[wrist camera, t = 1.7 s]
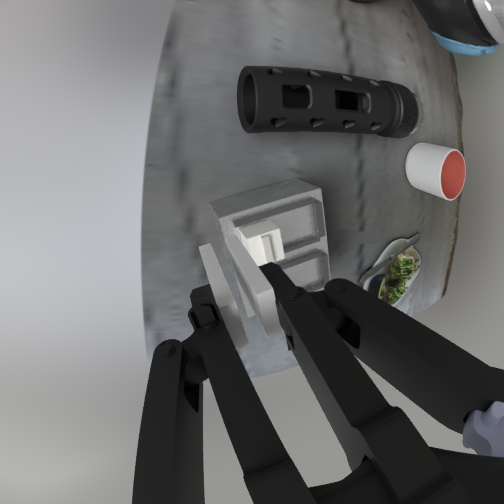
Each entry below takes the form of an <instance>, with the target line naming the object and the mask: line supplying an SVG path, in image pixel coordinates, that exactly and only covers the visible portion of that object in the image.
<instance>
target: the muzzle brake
mask: <svg viewBox="0 0 504 504" xmlns="http://www.w3.org/2000/svg"><path fill="white" fill-rule="evenodd" d="M291 86H294V87H293V88H292V87H291ZM237 104H238V114H239V119H240V122H241V125H242V127H243V129H244V130H245V131H246V132H247V133H262V132H299V131H312V132H347V133H366V134H377V135H379V136H383V137H392V138H403V137H406V136H408V135H409V134H412V133H414V132H416V131H417V130H418V129H419V127H420V125H421V123H422V120H423V108H422V105H421V102H420V100H419V99H418V97H417V96H416V95H415V94H414V93H412V92H411V91H410V90H409V89H408V88H407V87H405V86H403V85H400V84H397V83H393V82H389V81H382V80H381V81H376V80H373V79H368V78H364V77H358V76H353V75H347V74H341V73H335V72H327V71H320V70H311V69H301V68H288V67H271V66H245V67H244V68H243V69H242V71H241V73H240V76H239V80H238V86H237Z"/></svg>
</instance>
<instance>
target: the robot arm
mask: <svg viewBox="0 0 504 504" xmlns="http://www.w3.org/2000/svg"><path fill="white" fill-rule="evenodd" d="M351 1H355V2H361V3H365V2H369V1H372V0H351ZM412 2H413V3H414V5H415V6H416V8H417V9H418V11H419V12H420V14H421V15H422V17H423V18H424V20H425V22H426V23H427V27H428V29H429V30H430V31H431V32H432V33H433V35H434V36H435V38H436V40H437V41H438V43H439V44H440V45H441V46H442V47H443V48H444V49H445V50H447V51H449V52H452V53H455V54H459V55H466V56H480V55H481V54H485V55H488V54H492V53H494V52H496V51H497V50H498V48H499V44H502V43H504V0H412ZM225 242H226V245H227V249H228V252H229V256H230V259H231V263H232V266H233V270H234V273H235V276H236V278H237V280H238V282H239V284H240V286H241V288H242V290H243V292H244V294H245V296H246V298H247V300H248V301H249V303H250V305H251V307H252V309H253V311H254V313H255V315H256V317H257V319H258V321H259V323H260V325H261V327H262V329H263V331H264V333H265V334H266V336H267V338H268V339H270V338H272V337H275V336H278V335H280V334H283V332H282V328H283V330H284V332H285V335H286V340H287V345H288V350H292V352H293V354H294V356H295V357H296V359H297V361H298V363H299V365H300V367H301V369H302V371H303V373H304V375H305V377H306V378H307V381H308V383H309V385H310V386H311V388H312V390H313V392H314V394H315V396H316V398H317V400H318V402H319V404H320V406H321V407H322V410H323V411H324V413H325V415H326V417H327V419H328V421H329V423H330V425H331V427H332V428H333V431H334V432H335V434H336V436H337V438H338V440H339V442H340V444H341V446H342V448H343V449H344V451H345V453H346V456H347V460H348V463H349V466H350V468H351V470H352V473H351V474H349V475H348V476H347V477H346V478H344V479H343V480H341V481H338V482H334V483H329V484H325V485H320V486H315V487H310V488H308V487H307V485H306V483H305V482H304V480H303V478H302V476H301V475H300V473H299V471H298V469H297V468H296V466H295V464H294V463H293V461H292V459H291V458H290V456H289V455H288V453H287V451H286V449H285V448H284V446H283V444H282V442H281V440H280V438H279V436H278V434H277V432H276V430H275V428H274V427H273V425H272V422H271V421H270V419H269V417H268V415H267V413H266V411H265V409H264V407H263V405H262V403H261V401H260V399H259V396H258V394H257V392H256V391H255V388H254V386H253V384H252V382H251V380H250V378H249V376H248V374H247V371H246V369H245V367H244V365H243V363H242V361H241V359H240V356H239V354H238V352H237V350H240V349H243V348H245V347H248V346H250V345H249V342H248V339H247V336H246V333H245V330H244V327H243V324H242V321H241V318H240V315H239V312H238V309H237V306H236V303H235V300H234V298H233V296H232V293H231V291H230V289H229V286H228V284H227V282H226V279H225V277H224V275H223V272H222V270H221V268H220V265H219V263H218V260H217V258H216V256H215V253H214V251H213V248H212V246H211V244H210V243H209V244H206V245H203V246H200V247H199V250H200V253H201V257H202V260H203V263H204V266H205V269H206V273H207V276H208V279H209V282H210V284H208V285H205V286H202V287H199V288H196V289H193V290H192V292H191V295H190V298H191V303H192V308H191V309H190V310H189V312H188V317H189V319H190V322H191V324H192V326H193V328H194V330H195V331H194V332H193V334H192V335H191V336H190V337H188V338H187V339H186V340H184V341H182V342H180V341H179V340H176V339H169V340H166V341H163V342H162V343H160V344H159V345H158V346H157V347H156V348H155V351H154V354H153V358H152V363H151V368H150V373H149V379H148V384H147V390H146V395H145V401H144V407H143V413H142V420H141V426H140V433H139V440H138V449H137V456H136V465H135V474H134V485H133V498H132V504H205V498H204V472H203V471H204V470H203V381H204V380H206V379H207V378H209V380H210V383H211V386H212V389H213V392H214V395H215V398H216V401H217V404H218V407H219V410H220V412H221V415H222V418H223V421H224V424H225V426H226V429H227V432H228V435H229V437H230V440H231V442H232V445H233V448H234V450H235V453H236V455H237V458H238V460H239V463H240V465H241V468H242V470H243V474H244V476H243V478H244V481H245V484H246V487H247V489H248V491H249V494H250V496H251V498H252V501H253V503H254V504H504V370H503V369H499V368H494V367H490V366H488V365H487V364H485V363H484V362H482V361H481V360H479V359H478V358H476V357H474V356H473V355H471V354H470V353H468V352H466V351H465V350H463V349H462V348H460V347H459V346H457V345H455V344H454V343H452V342H450V341H449V340H447V339H445V338H444V337H442V336H441V335H439V334H438V333H436V332H434V331H433V330H431V329H429V328H428V327H426V326H425V325H423V324H421V323H420V322H418V321H416V320H415V319H413V318H411V317H410V316H408V315H407V314H405V313H403V312H402V311H400V310H398V309H397V308H395V307H393V306H392V305H390V304H388V303H386V302H385V301H383V300H381V299H380V298H378V297H376V296H375V295H373V294H371V293H370V292H368V291H366V290H364V289H363V288H361V287H359V286H358V285H356V284H354V283H352V282H351V281H349V280H346V279H341V278H338V279H333V280H330V281H328V282H327V283H326V284H325V286H324V290H322V291H316V292H307V291H306V290H305V289H304V288H303V287H299V286H296V285H295V284H294V283H293V282H292V280H291V279H290V278H289V277H288V276H287V274H285V272H284V271H283V270H282V268H281V267H280V266H279V265H278V264H275V263H273V262H269V263H267V264H264V265H261V266H257V264H256V263H255V261H254V260H253V258H252V257H251V256H250V254H249V253H248V251H247V250H246V248H245V247H244V245H243V244H242V242H241V241H240V240H239V238H238V237H237V235H233V236H230V237H227V238H225ZM281 327H282V328H281ZM353 354H354V355H355V356H356V357H357V358H359V359H360V360H361V361H362V362H364V363H365V364H366V365H368V366H369V367H370V368H371V369H372V370H373V371H375V372H376V373H377V374H379V375H380V376H381V377H382V378H384V379H385V380H386V381H387V382H389V383H390V384H391V385H392V386H394V387H395V388H396V389H397V390H399V391H400V392H401V393H403V394H404V395H405V396H406V397H408V398H409V399H410V400H411V401H413V402H414V403H415V404H416V405H418V406H419V407H420V408H422V409H423V410H424V411H425V412H427V413H428V414H429V415H431V416H432V417H433V418H434V419H436V420H437V421H438V422H440V423H441V424H443V425H444V426H446V427H447V428H449V429H451V430H453V431H455V432H458V433H461V434H463V445H464V447H466V448H472V449H474V450H475V451H476V453H477V455H476V454H467V453H462V452H455V451H450V450H444V449H439V448H434V447H429V446H428V445H427V444H426V442H425V441H424V439H423V438H422V436H421V435H420V433H419V432H418V431H417V429H416V428H415V426H414V425H413V424H412V422H411V421H410V419H409V418H408V417H407V415H406V414H405V413H404V412H403V410H402V409H401V408H399V407H393V406H391V405H390V404H389V403H388V402H387V401H386V399H385V398H384V396H383V395H382V394H381V392H380V391H379V390H378V388H377V387H376V385H375V384H374V382H373V381H372V380H371V378H370V377H369V375H368V374H367V373H366V371H365V370H364V368H363V367H362V366H361V364H360V363H359V361H358V360H357V359H356V357H355V356H354V355H353Z"/></svg>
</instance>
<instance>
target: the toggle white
mask: <svg viewBox="0 0 504 504" xmlns="http://www.w3.org/2000/svg"><path fill="white" fill-rule="evenodd" d="M239 231H240V235H241V239H242V242H243V245H244V247H245V248H246V250H247V251H248V253H249V254H250V256H251V257H252V258H253V260H254V261H255V263H256V264H257V266H261V265H264V264H267V263H269V262H273V263H274V262H275V261H278V260H281V259H284V258H285V256H284V250H283V245H282V239H281V234H280V229H279V228H278V227H277V226H276V225H275V224H274V223H273V222H272V221H270V220H266V221H262V222H259V223H256V224H253V225H250V226H247V227H244V228H240V229H239Z"/></svg>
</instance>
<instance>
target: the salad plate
mask: <svg viewBox="0 0 504 504" xmlns="http://www.w3.org/2000/svg"><path fill="white" fill-rule="evenodd" d="M419 239H420V235H419V234H416V235H415V236H413V237H412V238H410V239H404V238H401V239H397V240H395V241H392V242H391V243H390V244H389V245H388V246H387V247H386V248H385V249H384V250H383V252H382V253H381V254H380V256H379V257H378V259H377V260H376V261H375V262H374V264H373V265H372V266H371V267H370V269H369V270H368V271H367V272H366V273H365V274H364V275H363V276H362V277H361V279H360V283H362V288H363V289H364V290H366V291H368V292H370V293H371V294H373V295H375V296H376V297H378V298H380V299H381V300H383V301H385V302H386V303H388V304H390V305H392V306H393V307H394V306H395V305H396V304H397V303H398V302H399V301H400V300H401V298H402V297H403V295H404V294H405V292H406V291H407V289H408V288H409V286H410V285H411V284H412V282H413V281H414V279H415V278H416V276H417V275H418V273H419V270H420V266H421V258H420V255H419V254H418V252H417V251H416V250H415V249H414V247H413V245H414V244H415V243H416V242H418V241H419ZM403 279H405V280H404V281H403ZM389 280H390V281H389ZM382 297H383V298H382Z"/></svg>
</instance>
